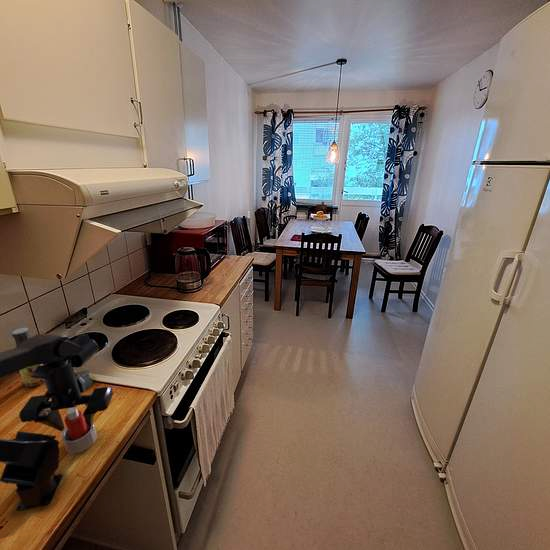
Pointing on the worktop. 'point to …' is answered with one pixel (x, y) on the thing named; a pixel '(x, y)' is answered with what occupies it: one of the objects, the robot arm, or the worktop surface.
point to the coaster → (88, 384)
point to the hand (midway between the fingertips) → (77, 427)
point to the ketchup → (75, 424)
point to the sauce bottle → (26, 373)
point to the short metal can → (79, 440)
